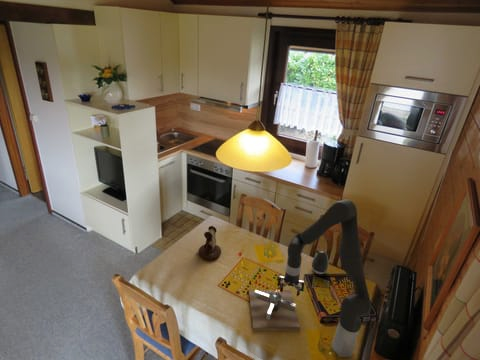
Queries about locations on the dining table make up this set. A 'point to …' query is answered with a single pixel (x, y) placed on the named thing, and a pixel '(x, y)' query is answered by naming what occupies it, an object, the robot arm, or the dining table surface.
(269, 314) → the capstan
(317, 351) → the dining table surface
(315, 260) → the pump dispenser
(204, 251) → the dark brown tall figurine
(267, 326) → the level stand
